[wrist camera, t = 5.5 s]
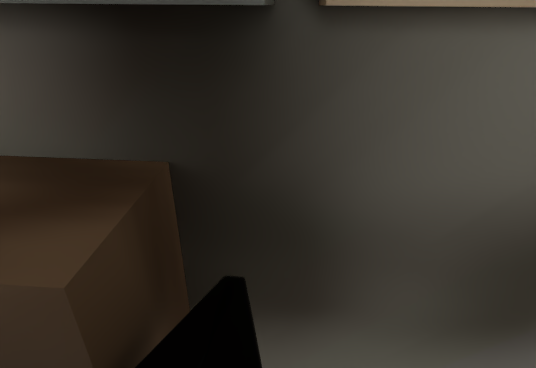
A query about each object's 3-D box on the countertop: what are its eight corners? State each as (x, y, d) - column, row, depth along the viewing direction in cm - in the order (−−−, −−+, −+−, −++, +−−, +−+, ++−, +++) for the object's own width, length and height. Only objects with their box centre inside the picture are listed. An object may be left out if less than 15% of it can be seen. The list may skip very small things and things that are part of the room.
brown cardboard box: (168, 162, 8) (63, 288, 4) (199, 375, 12) (156, 537, 8) (-72, 152, 8) (-344, 262, 5) (32, 362, 12) (-77, 510, 9)
